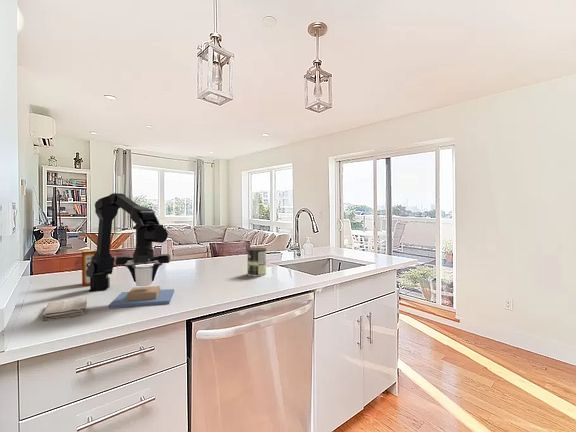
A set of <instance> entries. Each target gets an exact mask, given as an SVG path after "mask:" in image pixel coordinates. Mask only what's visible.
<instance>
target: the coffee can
mask: <svg viewBox="0 0 576 432" xmlns="http://www.w3.org/2000/svg"><path fill="white" fill-rule="evenodd" d="M246 275H247V276H249V277H264V276H266V275H267V248H266V247H249V248H247V274H246Z"/></svg>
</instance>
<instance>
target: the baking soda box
mask: <svg viewBox="0 0 576 432" xmlns="http://www.w3.org/2000/svg"><path fill="white" fill-rule="evenodd" d="M96 251H97V249H90V250H89V249H88V250H86V249H85V250H81V276H82V277H81V278H82V279H81V282H82V283H81V285H82V287H88V286H89V287H90V277H88V276H86V270H87V269H88V267H89V265H90V264H91V259H92V257H93V256H94V254H95V253H96Z"/></svg>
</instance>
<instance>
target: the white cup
mask: <svg viewBox="0 0 576 432" xmlns="http://www.w3.org/2000/svg"><path fill="white" fill-rule="evenodd" d="M134 270H135V279H136V282H135V286H136V287H149V286H152V285H153V281H152V275H153V265H149V264H146V265H145V264H144V265H143V264H142V265H138V266H136V267H134Z"/></svg>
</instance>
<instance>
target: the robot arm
mask: <svg viewBox="0 0 576 432" xmlns="http://www.w3.org/2000/svg"><path fill="white" fill-rule="evenodd" d="M94 209H95V211H94V212H95V214H96V216H97V218H98V229H97V230H98V231H97V239H96V240H97V243H96V250H97V251H96V253H95V254H94V256H93V257H92V259H91V264H90V265H89V267H88V269H87V270H86V276H88V277H90V285H89V289H88V291H89V292H94V291H95V292H97V291H106V290H108V289H109V288H110V286H111V283H110V281H111V280H110V277H109V275H112V274H113V270H114V266H115V265H117V266H122V265H123V267H125V268H127V269H128V271H129V272H130V275H131V277H132V280H133V282H134V283H136V279H135V270H134V267H137V266H136V264H147V263H149V262H154V263H153V265H152V266H153V275H152V282H154V281H155V279H156V275H157V272H158V270H159V268H160V266H162V265H163V264H169V263H170V262H171V254H169V253H167V254H165V253H163V254H161V253H160V254H159V255H158V256H155V250H154V249H153V243H159V244H163V243H165V242H166V240H167V239H168V237H169V234H168V231H167V229H166V228H164V224H160V221H159V219H158V217H157V216H156V214H155V213H156V212H155V211H154V209H152V208H149V207H145V206H141V205H139V204H138V203H136V201H135V202H134V200H132V199H130V198H129V197H127V196H126V194H124V193H117V192H116V193H115V192H113V193H110V194H109V195H106V196H104V197H101V198H99V199H97V201H95V203H94ZM119 209H122V210H124V211H125V212H126V213H128V214H129V215H130V216H129V217H130V220H131V221H132V222H133V223H134V226H133V227H132V230H135V250H134V252H133V254H132V256H131V255H128V254H127V255H123V254H122V255H119V256H117V257H116V258H114V256H112V254H111V252H110V251H111V239H112V230H113V229H112V228H113V220H115V217H116V216H118V212H119Z"/></svg>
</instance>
